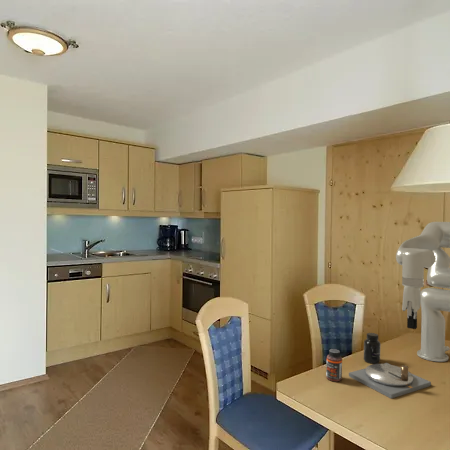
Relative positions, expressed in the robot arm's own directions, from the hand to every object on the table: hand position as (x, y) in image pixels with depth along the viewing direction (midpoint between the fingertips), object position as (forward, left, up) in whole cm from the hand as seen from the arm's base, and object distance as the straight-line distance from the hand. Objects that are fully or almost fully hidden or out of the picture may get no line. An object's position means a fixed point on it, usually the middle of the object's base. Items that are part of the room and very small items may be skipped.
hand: (412, 328), depth 145 cm
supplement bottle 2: (-1, -20, -21) cm, 29 cm away
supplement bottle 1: (+27, -14, -21) cm, 37 cm away
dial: (+9, -3, -19) cm, 21 cm away
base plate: (+9, -3, -21) cm, 23 cm away
